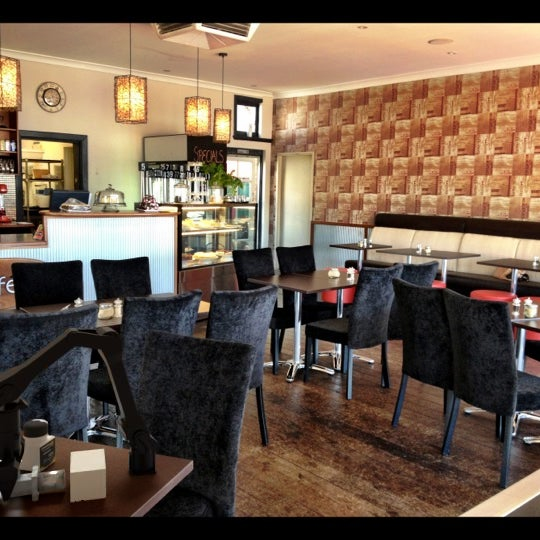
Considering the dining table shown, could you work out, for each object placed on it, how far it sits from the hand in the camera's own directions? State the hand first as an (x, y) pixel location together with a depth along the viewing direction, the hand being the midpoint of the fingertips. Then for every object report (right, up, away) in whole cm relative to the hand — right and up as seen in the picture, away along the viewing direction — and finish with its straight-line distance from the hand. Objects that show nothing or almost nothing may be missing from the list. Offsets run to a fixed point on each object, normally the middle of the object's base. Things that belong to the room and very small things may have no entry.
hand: (8, 492), depth 137 cm
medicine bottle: (-1, 0, +18) cm, 18 cm away
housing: (+17, -1, +6) cm, 18 cm away
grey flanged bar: (+6, -2, +2) cm, 6 cm away
